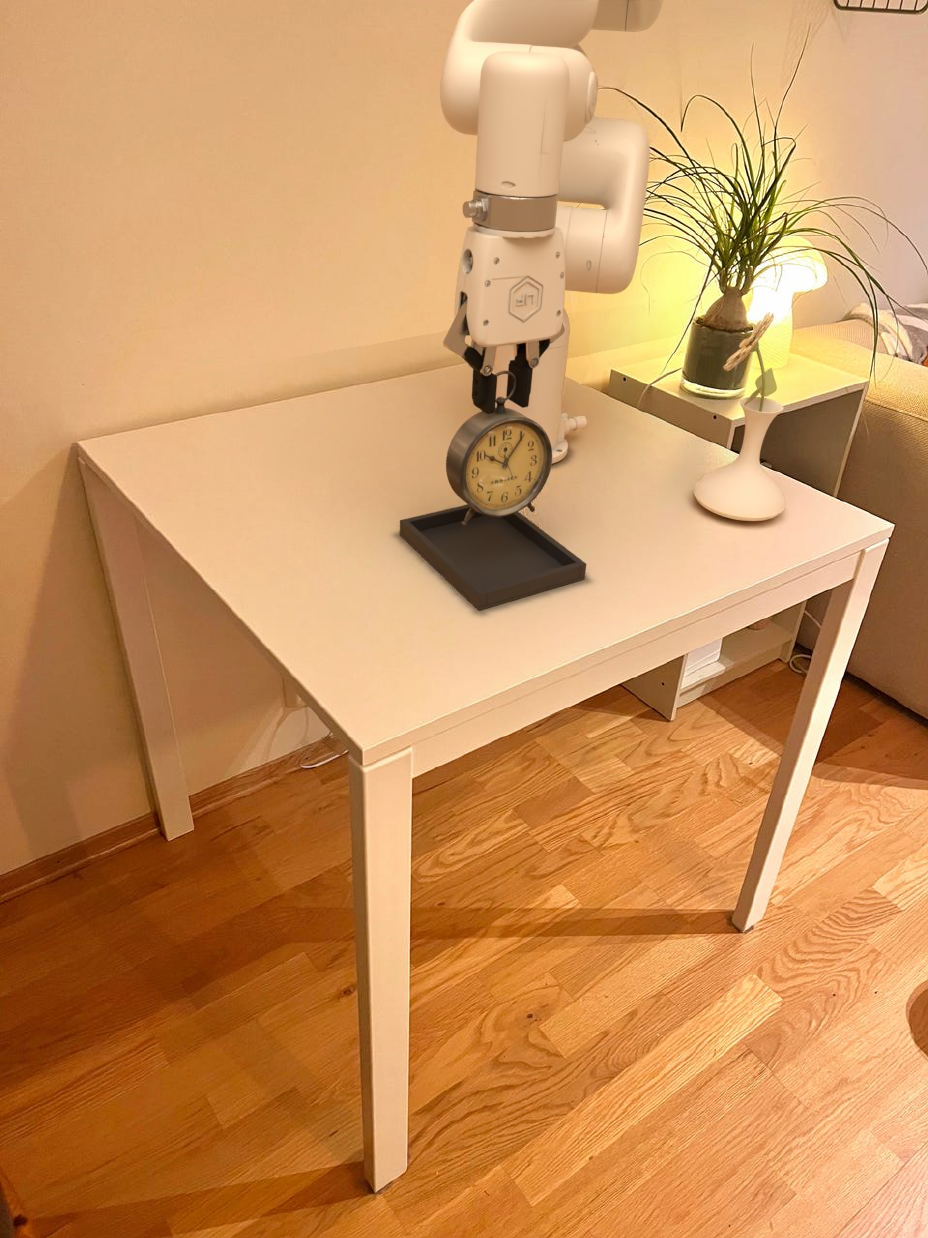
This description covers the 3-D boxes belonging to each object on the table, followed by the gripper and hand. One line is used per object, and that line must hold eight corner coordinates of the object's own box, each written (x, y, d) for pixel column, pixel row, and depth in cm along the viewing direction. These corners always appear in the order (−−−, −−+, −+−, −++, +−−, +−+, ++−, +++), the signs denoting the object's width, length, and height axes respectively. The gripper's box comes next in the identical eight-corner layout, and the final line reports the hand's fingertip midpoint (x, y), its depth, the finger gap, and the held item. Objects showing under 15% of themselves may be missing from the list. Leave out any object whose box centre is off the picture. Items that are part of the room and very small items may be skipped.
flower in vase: (722, 480, 123) (766, 288, 108) (799, 511, 116) (856, 311, 102) (665, 509, 115) (705, 307, 101) (745, 544, 108) (798, 333, 94)
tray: (497, 511, 112) (499, 496, 111) (584, 579, 100) (586, 563, 99) (399, 535, 106) (399, 519, 105) (479, 610, 94) (480, 594, 93)
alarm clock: (459, 535, 96) (467, 386, 87) (437, 513, 100) (442, 367, 91) (548, 517, 100) (565, 373, 91) (523, 496, 104) (537, 356, 95)
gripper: (457, 226, 76) (448, 433, 87) (612, 215, 84) (587, 406, 94) (414, 209, 81) (411, 405, 92) (564, 199, 89) (545, 382, 99)
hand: (500, 404), depth 93 cm, fingers closed on alarm clock, 3 cm apart
